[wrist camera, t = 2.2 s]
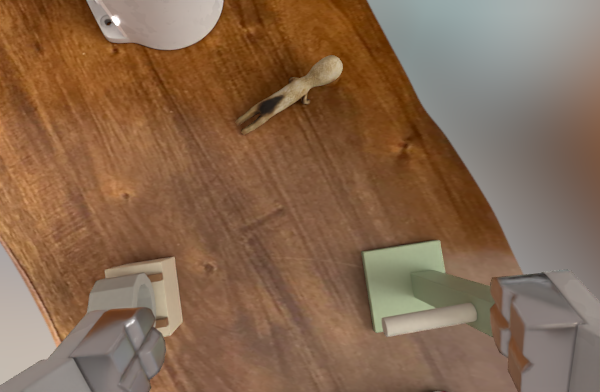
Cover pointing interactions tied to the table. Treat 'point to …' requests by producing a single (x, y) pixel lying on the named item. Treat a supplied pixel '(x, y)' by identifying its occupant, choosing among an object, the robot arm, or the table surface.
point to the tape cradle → (158, 289)
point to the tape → (122, 293)
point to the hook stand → (421, 291)
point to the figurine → (293, 92)
